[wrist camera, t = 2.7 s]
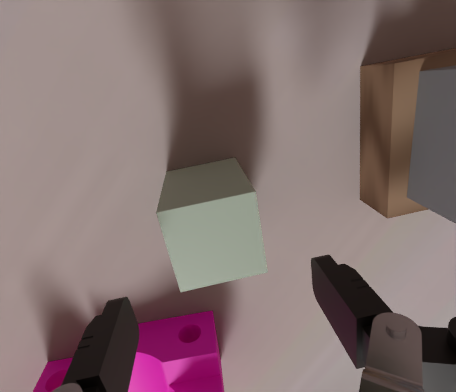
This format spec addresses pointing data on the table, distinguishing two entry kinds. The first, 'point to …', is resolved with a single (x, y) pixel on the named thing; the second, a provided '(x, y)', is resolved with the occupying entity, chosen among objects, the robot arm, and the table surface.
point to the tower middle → (435, 143)
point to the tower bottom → (391, 129)
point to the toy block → (164, 358)
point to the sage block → (211, 224)
